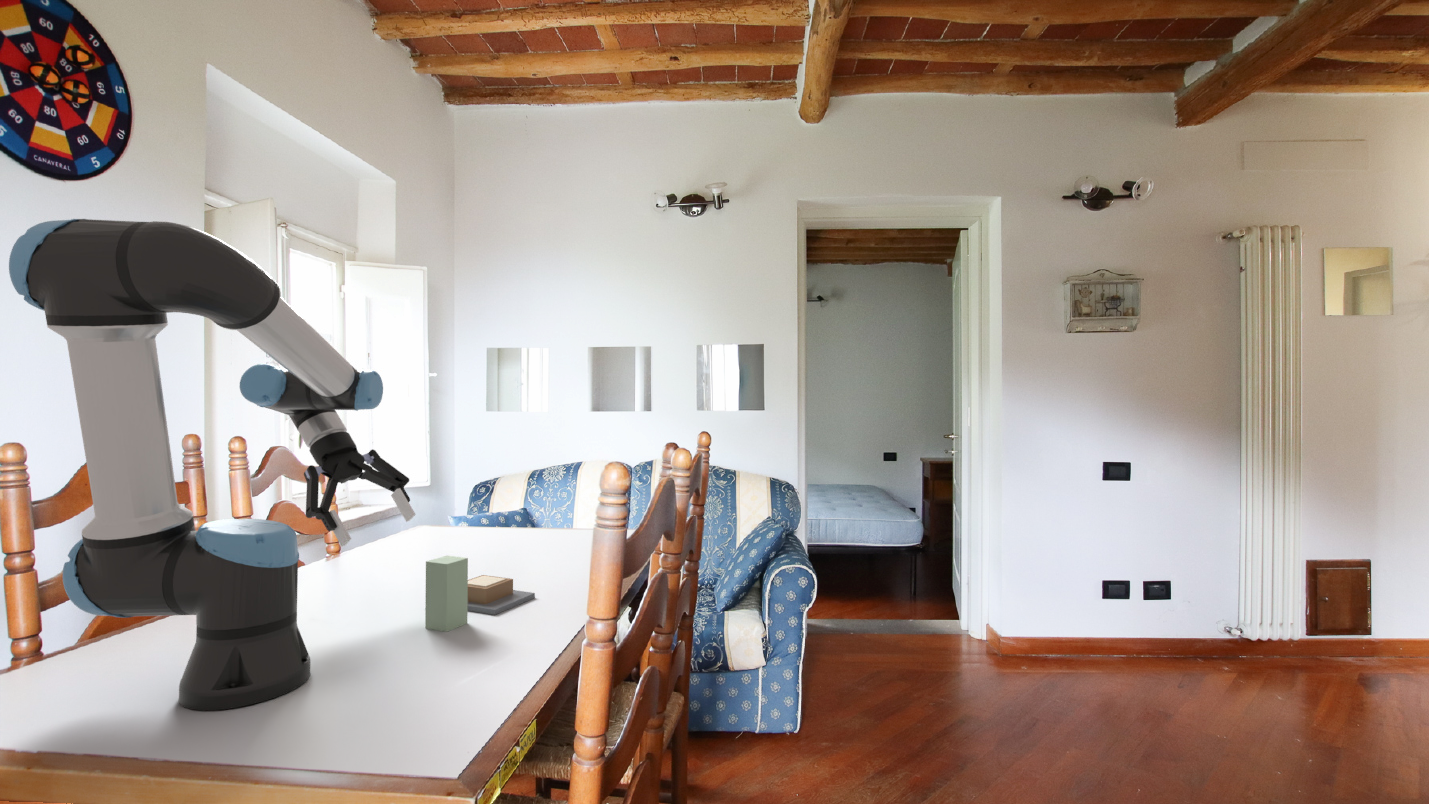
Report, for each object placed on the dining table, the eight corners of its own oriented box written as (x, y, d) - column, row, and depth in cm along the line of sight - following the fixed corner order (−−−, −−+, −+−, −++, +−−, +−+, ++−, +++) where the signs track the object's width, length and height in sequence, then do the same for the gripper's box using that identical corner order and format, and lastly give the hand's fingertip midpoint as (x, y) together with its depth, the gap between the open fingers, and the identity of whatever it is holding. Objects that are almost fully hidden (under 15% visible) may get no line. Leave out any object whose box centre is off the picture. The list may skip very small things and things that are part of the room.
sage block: (446, 631, 113) (447, 564, 113) (425, 628, 115) (425, 561, 115) (467, 623, 117) (467, 558, 118) (446, 619, 119) (447, 555, 119)
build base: (494, 614, 122) (494, 593, 122) (431, 604, 128) (431, 583, 128) (534, 597, 133) (534, 577, 133) (475, 589, 139) (475, 569, 139)
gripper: (378, 436, 140) (426, 517, 137) (253, 466, 118) (307, 563, 115) (393, 417, 136) (443, 500, 133) (267, 445, 114) (323, 545, 112)
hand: (380, 530), depth 124 cm, fingers open, 13 cm apart
